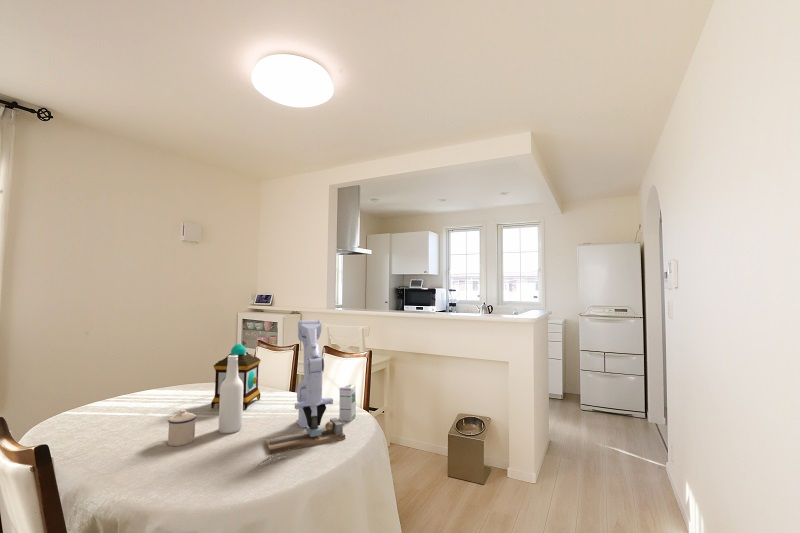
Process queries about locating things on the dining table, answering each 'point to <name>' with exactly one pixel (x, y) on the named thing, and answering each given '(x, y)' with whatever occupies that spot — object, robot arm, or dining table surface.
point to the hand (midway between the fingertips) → (313, 425)
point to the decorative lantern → (245, 373)
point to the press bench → (306, 438)
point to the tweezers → (271, 460)
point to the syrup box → (347, 403)
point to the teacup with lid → (181, 428)
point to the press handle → (314, 427)
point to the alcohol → (231, 399)
